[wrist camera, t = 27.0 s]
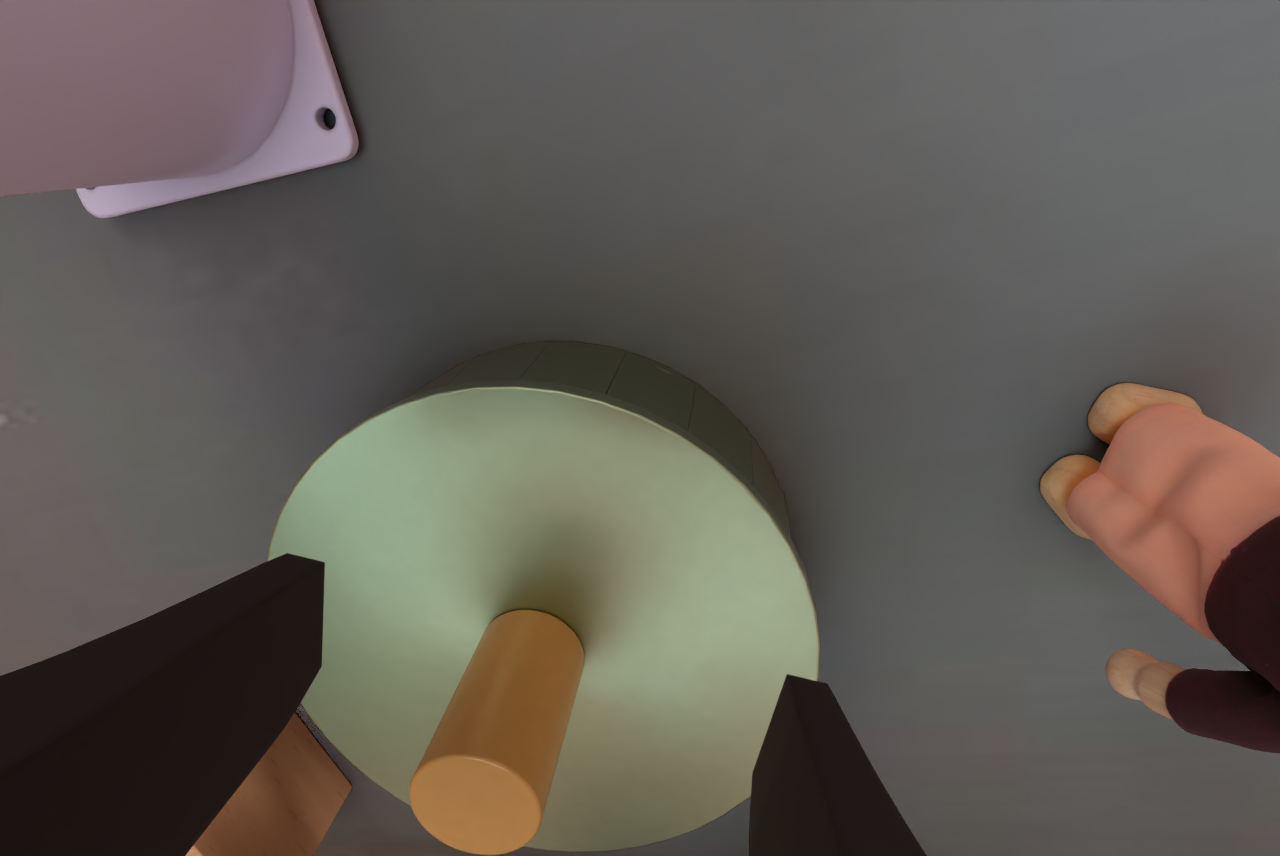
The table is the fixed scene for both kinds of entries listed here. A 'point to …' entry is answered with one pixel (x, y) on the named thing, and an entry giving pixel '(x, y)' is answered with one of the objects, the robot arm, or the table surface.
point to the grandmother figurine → (1186, 552)
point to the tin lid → (547, 616)
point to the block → (279, 802)
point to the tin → (630, 397)
